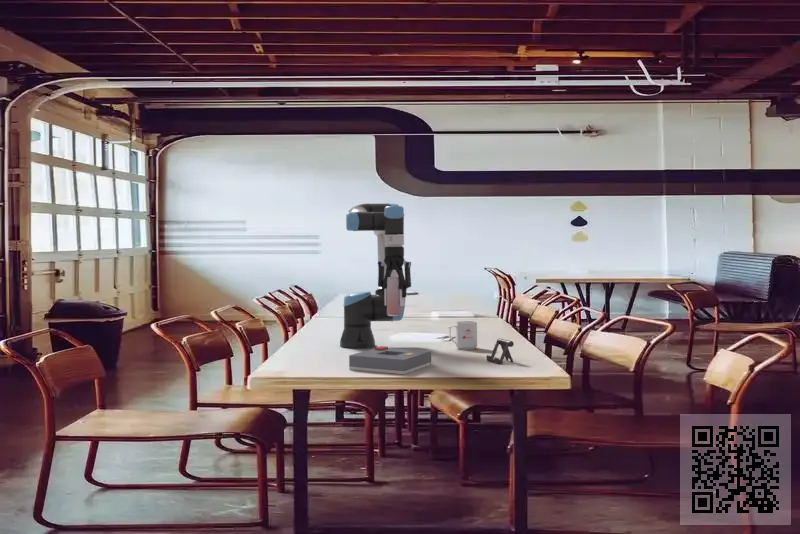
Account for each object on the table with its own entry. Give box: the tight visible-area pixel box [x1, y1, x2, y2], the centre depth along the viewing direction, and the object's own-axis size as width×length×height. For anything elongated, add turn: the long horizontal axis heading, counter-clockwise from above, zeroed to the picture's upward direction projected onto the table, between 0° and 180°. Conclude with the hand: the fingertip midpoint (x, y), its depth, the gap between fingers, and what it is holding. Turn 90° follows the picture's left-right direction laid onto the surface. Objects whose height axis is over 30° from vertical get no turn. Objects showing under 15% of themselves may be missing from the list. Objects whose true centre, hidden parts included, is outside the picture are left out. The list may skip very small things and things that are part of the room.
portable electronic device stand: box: [486, 338, 515, 365], centre depth 283 cm, size 9×8×8 cm
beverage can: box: [387, 277, 402, 316], centre depth 291 cm, size 6×6×15 cm
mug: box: [448, 320, 478, 351], centre depth 317 cm, size 12×9×11 cm
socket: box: [348, 345, 432, 375], centre depth 273 cm, size 22×22×6 cm
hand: (394, 305), depth 292 cm, fingers closed on beverage can, 6 cm apart
